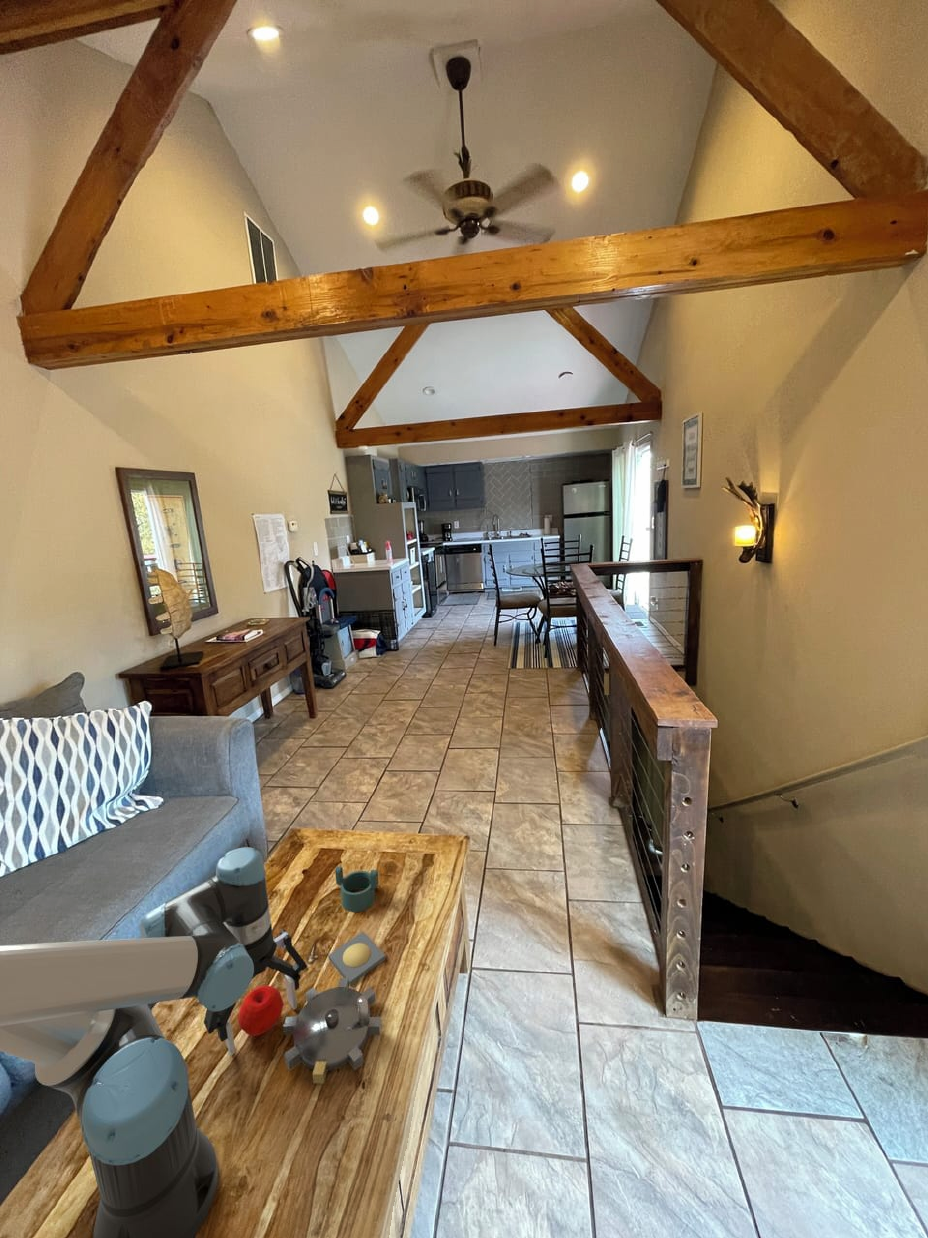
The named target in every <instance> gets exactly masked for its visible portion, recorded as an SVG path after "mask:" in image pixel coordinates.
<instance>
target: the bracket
mask: <svg viewBox="0 0 928 1238" xmlns="http://www.w3.org/2000/svg"><path fill="white" fill-rule="evenodd" d="M343 868H344V867H343V866H336V867H335V869H334V873H335V883H336V885H338V886H339V887H340V895H341V896H340V897H341V905H342V908H343V909H344V910H346V912H350V913H360V912H363V911H366V910H367V909H369V908H370V907H372V906H373V904H374V902H375V899H376V889H377V887H378V885H379V872H378V869H371V870H370V871H366V870H356V871H352V872H350V873H349V874H347V875H345V876H344V869H343ZM359 889H364V890H361V891H359V892H358V891H357V892H354V891H355V890H359Z"/></svg>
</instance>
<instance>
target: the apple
mask: <svg viewBox="0 0 928 1238" xmlns="http://www.w3.org/2000/svg"><path fill="white" fill-rule="evenodd" d="M283 1007H284V1002H283V999H282V994H281V992H280V990H279V989H277V988H276V987H274V986H272V985H261V986H259V987H256V988H254V989H252V990H251V991H250V992H249V993H247V995H246V996H245V998H244V1000H243V1001H242V1004H241V1005H240V1009H239V1011H238V1012H239V1013H238V1015H237V1016H238V1017H237V1021H238V1025H239V1027H240V1030H242V1031H243V1032H244V1033H245V1034H247V1035H249V1036H253V1037H254V1036H260V1035H262V1034H264V1033H266V1032H268V1031H270V1030H271V1029H272V1028H273V1026H275V1025H276V1024H277V1022H278V1021H279V1019H280V1017H281V1016H282V1012H283Z"/></svg>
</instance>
